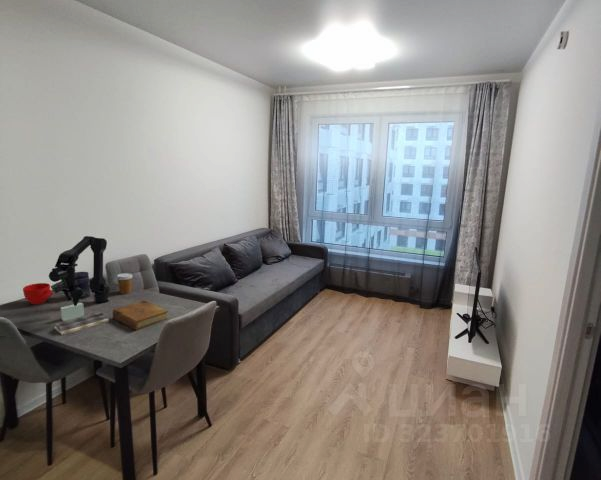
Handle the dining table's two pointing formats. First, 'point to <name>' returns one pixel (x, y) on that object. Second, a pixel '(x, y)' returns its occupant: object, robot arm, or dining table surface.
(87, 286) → the storage jar
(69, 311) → the pale green rectangular box
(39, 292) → the ceramic cup
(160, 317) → the diary
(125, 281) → the disposable coffee cup
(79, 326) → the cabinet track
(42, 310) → the dining table surface
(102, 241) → the robot arm
